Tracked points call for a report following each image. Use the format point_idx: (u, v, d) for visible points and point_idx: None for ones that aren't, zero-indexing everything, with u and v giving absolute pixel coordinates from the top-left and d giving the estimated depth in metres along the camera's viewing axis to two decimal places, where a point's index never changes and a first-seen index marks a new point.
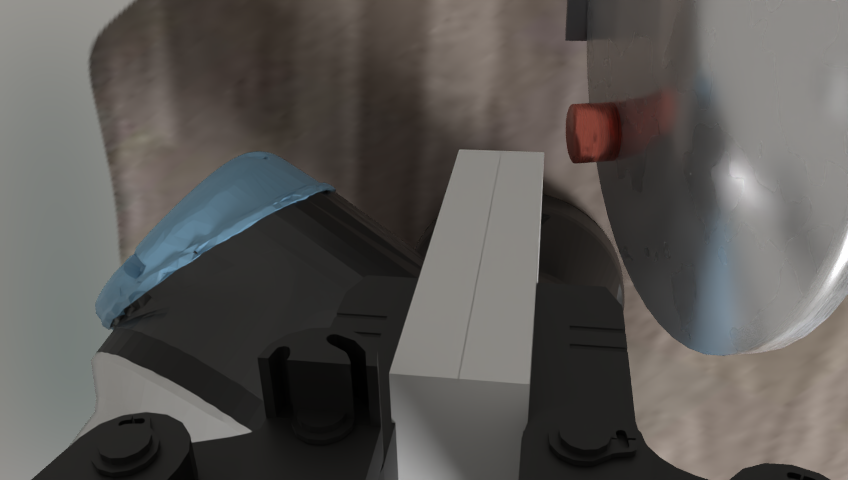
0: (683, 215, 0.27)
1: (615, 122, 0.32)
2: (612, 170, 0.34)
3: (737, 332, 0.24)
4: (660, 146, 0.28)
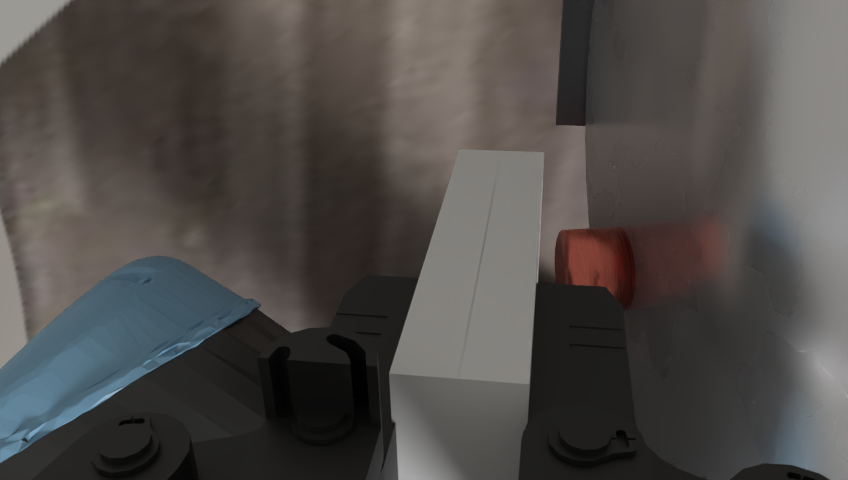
0: (738, 458, 0.17)
1: (626, 262, 0.22)
2: None
3: None
4: (699, 330, 0.18)
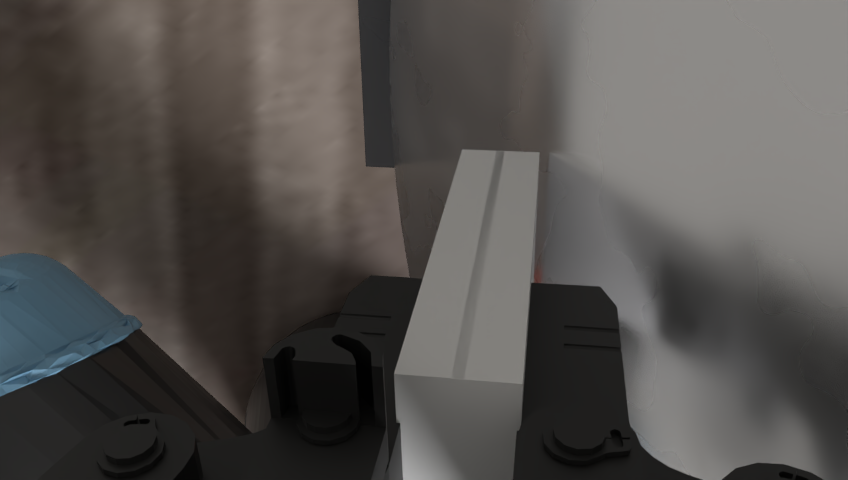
0: None
1: None
2: None
3: None
4: None
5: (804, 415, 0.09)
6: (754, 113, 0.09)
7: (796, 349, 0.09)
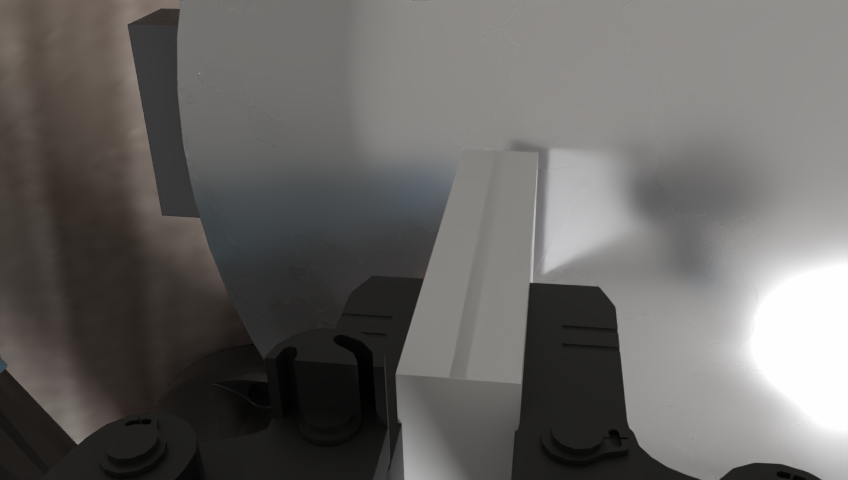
0: None
1: None
2: None
3: None
4: None
5: None
6: None
7: None
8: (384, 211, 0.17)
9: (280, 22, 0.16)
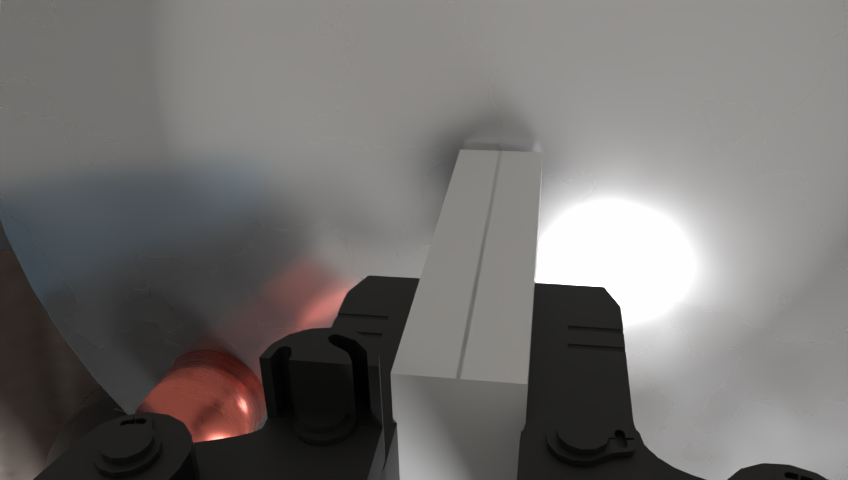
0: None
1: (248, 376, 0.18)
2: None
3: None
4: None
5: (765, 197, 0.14)
6: (689, 15, 0.13)
7: (751, 159, 0.14)
8: (231, 216, 0.16)
9: (92, 32, 0.15)
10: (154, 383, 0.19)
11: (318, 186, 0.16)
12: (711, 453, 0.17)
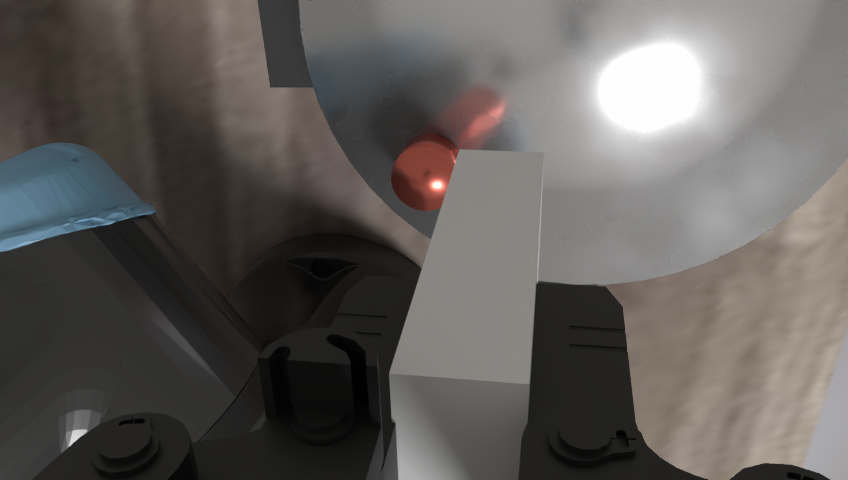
0: (638, 173, 0.29)
1: (454, 147, 0.30)
2: None
3: (763, 216, 0.29)
4: (569, 132, 0.29)
5: (760, 4, 0.26)
6: None
7: None
8: (453, 42, 0.28)
9: None
10: (390, 161, 0.31)
11: (507, 18, 0.28)
12: (734, 171, 0.29)
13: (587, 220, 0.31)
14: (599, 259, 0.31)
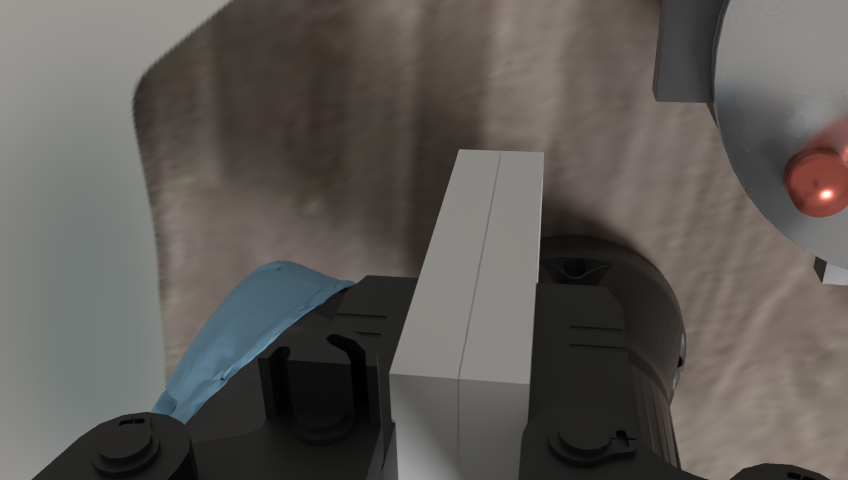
0: None
1: (843, 161, 0.33)
2: None
3: None
4: None
5: None
6: None
7: None
8: None
9: None
10: (773, 171, 0.34)
11: None
12: None
13: None
14: None
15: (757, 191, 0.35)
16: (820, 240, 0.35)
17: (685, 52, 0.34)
